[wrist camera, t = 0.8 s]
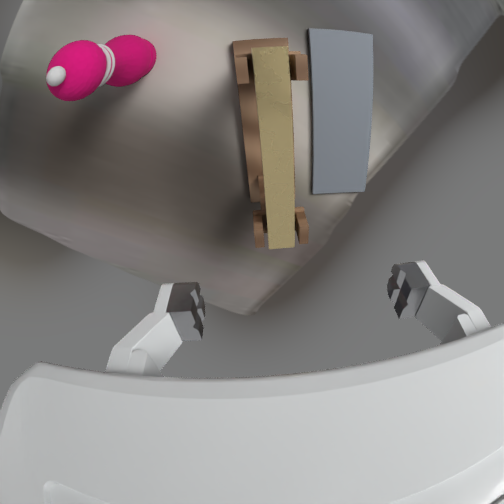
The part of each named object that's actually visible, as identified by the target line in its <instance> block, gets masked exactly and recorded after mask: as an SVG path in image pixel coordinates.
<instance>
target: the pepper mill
mask: <svg viewBox="0 0 504 504" xmlns="http://www.w3.org/2000/svg"><path fill="white" fill-rule="evenodd" d="M155 61H156V50H155V48H154V46H153V45H152V44H151V43H150V42H149V41H147V40H145V39H142V38H140V37H138V36H135V35H122V36H118V37H115V38H113V39H111V40H110V41H108V42H107V43H106V44H105V45H103V44H96V43H94V42H91V41H88V40H80V41H75V42H72V43H69V44H67V45H65V46H64V47H63V48H61V49H60V50H59V51H58V52H57V53H56V54H55V55H54V57H53V58H52V60H51V61H50V63H49V66H48V69H47V75H46V80H47V85H48V88H49V90H50V92H51V93H52V94H53V95H54V96H56V97H57V98H59V99H61V100H64V101H76V100H80V99H82V98H85V97H86V96H88V95H90V94H91V93H93V92H94V91H95V90H96V89H97V88H98V87H100V86H102V85H103V84H105V83H106V84H108V85H111V86H116V87H121V86H126V85H130V84H133V83H135V82H136V81H138V80H139V79H140V78H141V77H143V76H145V75H146V74H147V73H149V72H150V70H151V69H152V68H153V66H154V64H155Z"/></svg>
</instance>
